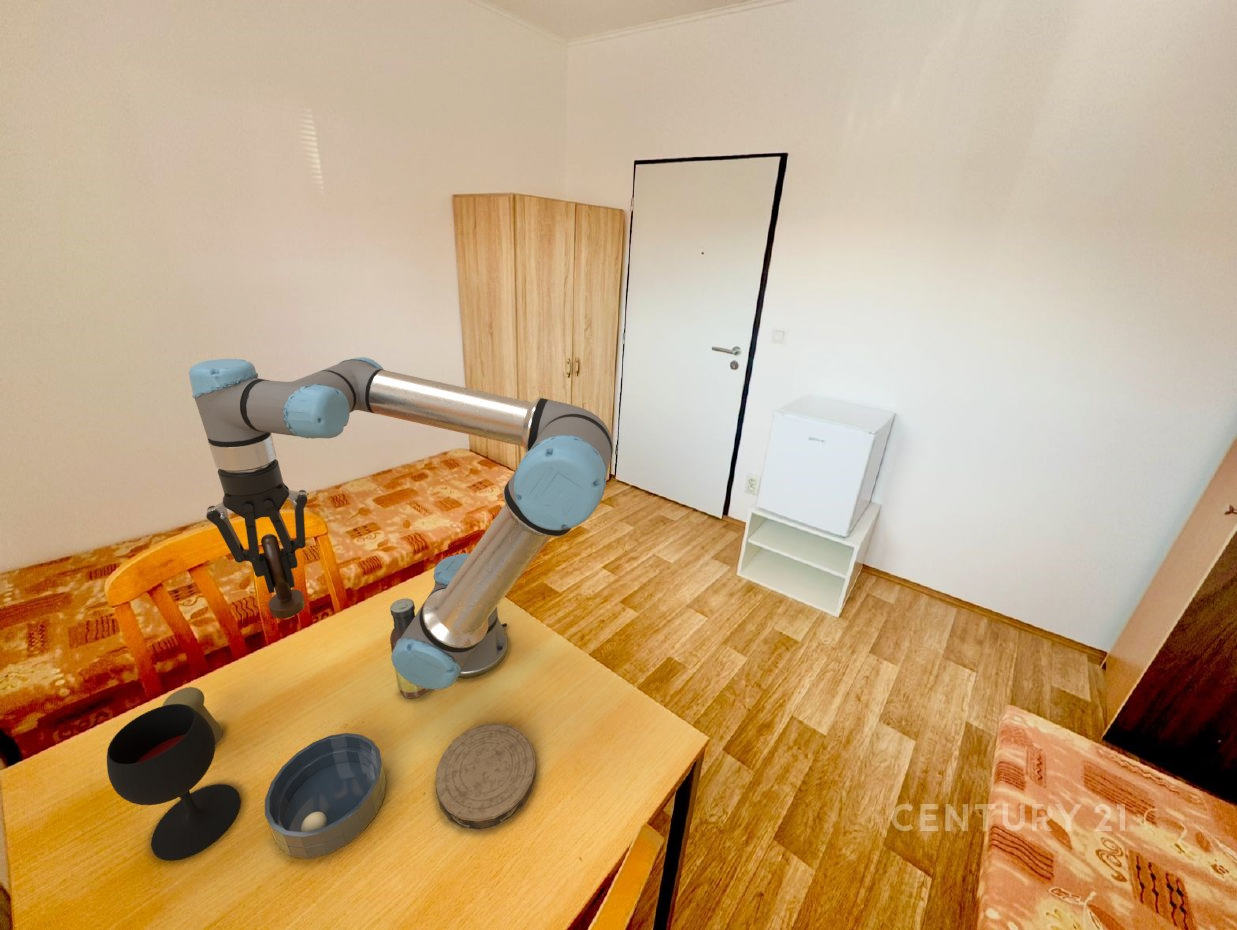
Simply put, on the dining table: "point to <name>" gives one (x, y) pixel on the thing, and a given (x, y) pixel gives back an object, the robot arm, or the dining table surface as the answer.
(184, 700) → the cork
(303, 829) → the egg
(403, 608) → the sauce bottle
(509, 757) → the tin can
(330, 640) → the dining table surface
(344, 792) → the bowl
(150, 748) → the wine glass
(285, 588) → the brown rubber stamp
